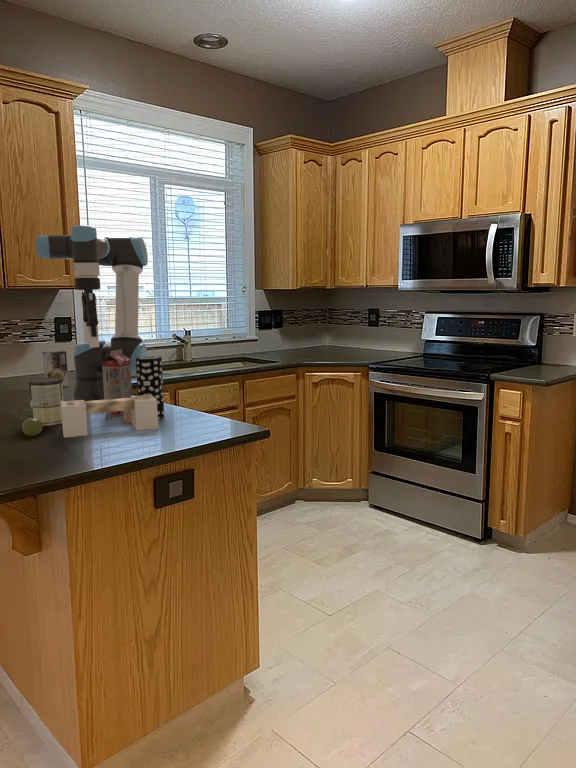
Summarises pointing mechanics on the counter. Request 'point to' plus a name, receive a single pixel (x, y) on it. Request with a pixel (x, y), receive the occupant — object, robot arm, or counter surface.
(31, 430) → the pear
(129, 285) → the robot arm
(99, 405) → the birch slat
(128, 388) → the juice carton
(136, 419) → the end caps
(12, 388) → the counter surface
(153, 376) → the spotted tube
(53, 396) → the coffee can
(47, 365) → the coffee box
